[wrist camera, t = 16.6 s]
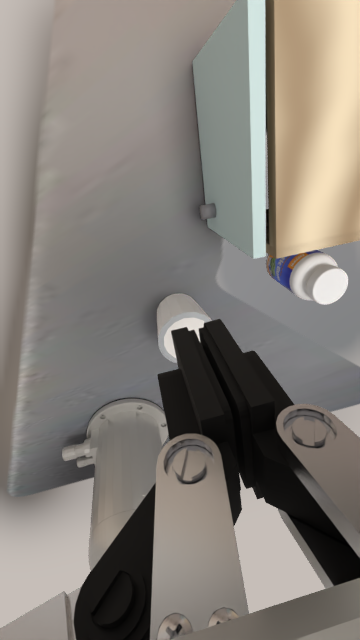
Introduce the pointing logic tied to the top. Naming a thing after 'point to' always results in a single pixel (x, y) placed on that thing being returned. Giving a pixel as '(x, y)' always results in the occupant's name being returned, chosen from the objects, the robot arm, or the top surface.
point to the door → (234, 127)
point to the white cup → (177, 320)
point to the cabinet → (312, 124)
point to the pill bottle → (309, 276)
